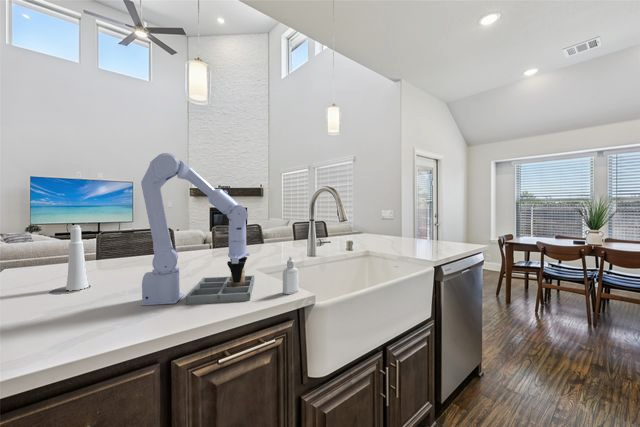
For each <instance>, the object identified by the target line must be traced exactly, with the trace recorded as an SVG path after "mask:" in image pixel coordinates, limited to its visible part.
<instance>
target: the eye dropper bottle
mask: <svg viewBox="0 0 640 427" xmlns="http://www.w3.org/2000/svg"><path fill="white" fill-rule="evenodd" d="M298 292H299V269H298V267H295V260H294V259H293V257H292V256H289V257H288V260H286V268H284V269H283V271H282V294H284V295H287V294H289V295H293V294H295V293H298Z"/></svg>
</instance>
